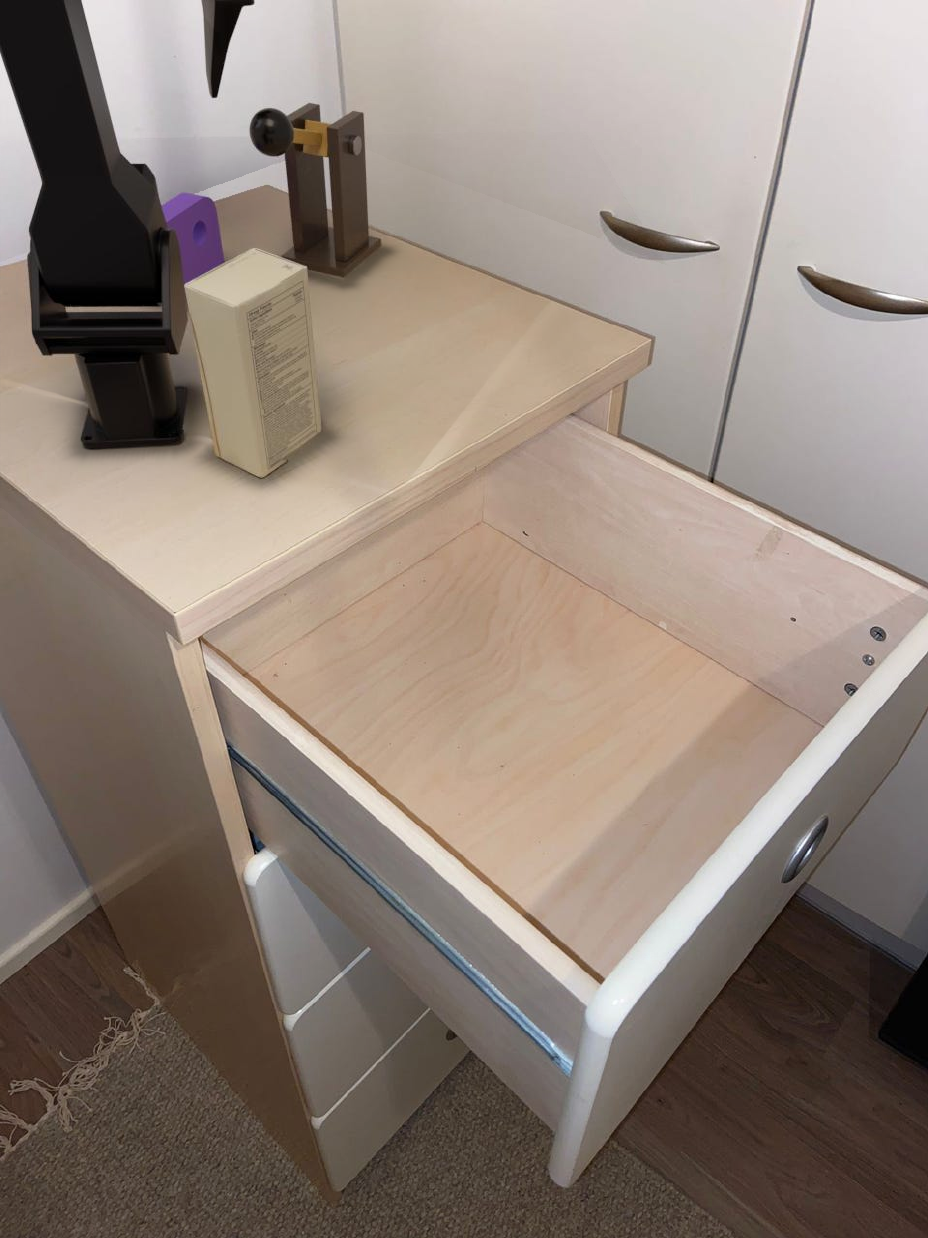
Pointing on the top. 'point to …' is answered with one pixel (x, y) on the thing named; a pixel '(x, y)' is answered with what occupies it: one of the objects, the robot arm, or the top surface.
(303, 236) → the lock bracket
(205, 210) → the bracket
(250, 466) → the cosmetic box
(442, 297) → the top surface
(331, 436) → the top surface
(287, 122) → the lock lever
